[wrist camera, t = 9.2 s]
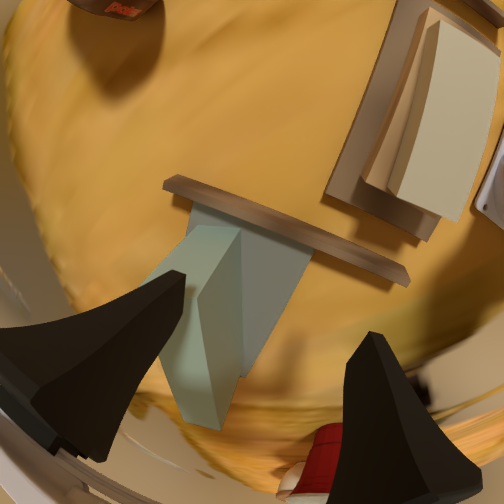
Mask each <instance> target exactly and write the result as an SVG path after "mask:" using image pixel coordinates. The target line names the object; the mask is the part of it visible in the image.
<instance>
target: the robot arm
mask: <svg viewBox="0 0 504 504" xmlns="http://www.w3.org/2000/svg"><path fill="white" fill-rule="evenodd" d="M474 205H475V208H476V209H477V210H479V211H480V212H481V213H483V214H484V215H485V216H487V217H488V218H489V219H490V220H492V221H493V222H494V223H495V224H497V225H498V226H499V227H500V228H501V229H503V230H504V130H503V133H502V136H501V139H500V141H499V144H498V147H497V150H496V152H495V155H494V158H493V160H492V163H491V165H490V168H489V170H488V172H487V175H486V177H485V179H484V182H483V184H482V186H481V188H480V190H479V193H478V195H477V197H476V199H475V202H474ZM484 205H485V208H484V209H483V206H484ZM185 285H186V274H184V273H181V272H179V271H176V270H173V269H172V270H170V271H168V272H166V273H164V274H162V275H160V276H159V277H157V278H155V279H153V280H151V281H150V282H148V283H146V284H144V285H142V286H140V287H139V288H137V289H135V290H133V291H131V292H129V293H127V294H125V295H123V296H121V297H119V298H117V299H115V300H113V301H111V302H108V303H106V304H104V305H102V306H99V307H97V308H94V309H91V310H89V311H86V312H83V313H80V314H77V315H74V316H70V317H67V318H63V319H60V320H57V321H52V322H47V323H43V324H37V325H31V326H24V327H13V328H0V384H1V385H0V485H1V486H2V487H3V489H4V490H5V491H6V492H7V493H8V495H9V496H10V497H11V498H12V499H13V500H14V501H15V502H16V504H111V503H109V502H108V501H106V500H104V499H102V498H100V497H98V496H96V495H94V494H92V493H90V492H89V487H88V485H89V486H90V487H92V488H94V489H96V490H97V491H99V492H100V493H102V494H104V495H106V496H108V497H109V498H111V499H113V500H115V501H117V502H119V503H121V504H162V503H159V502H157V501H154V500H152V499H149V498H147V497H145V496H143V495H141V494H138V493H136V492H134V491H132V490H130V489H128V488H126V487H124V486H122V485H120V484H119V483H117V482H115V481H113V480H111V479H109V478H107V477H106V476H104V475H102V474H101V473H99V472H97V471H96V470H94V469H92V468H91V467H89V466H87V465H86V464H84V463H83V462H81V461H80V460H78V459H77V456H78V455H79V456H81V457H82V458H84V459H87V458H88V457H89V458H90V459H92V460H93V461H95V462H97V463H101V462H105V461H106V460H107V457H108V454H109V451H110V448H111V446H112V443H113V440H114V438H115V435H116V433H117V431H118V428H119V426H120V423H121V421H122V419H123V416H124V414H125V412H126V410H127V408H128V406H129V404H130V402H131V400H132V398H133V396H134V394H135V392H136V390H137V388H138V386H139V384H140V382H141V380H142V379H143V377H144V375H145V374H146V372H147V371H148V369H149V368H150V366H151V365H152V363H153V362H154V361H155V359H156V358H157V356H158V355H159V353H160V352H161V350H162V349H163V347H164V346H165V344H166V343H167V341H168V340H169V338H170V337H171V335H172V334H173V332H174V330H175V328H176V326H177V324H178V322H179V320H180V318H181V316H182V314H183V307H184V295H185ZM482 489H483V484H482V472H481V469H480V468H479V467H477V466H476V465H475V464H474V463H473V462H472V461H470V460H469V459H468V458H467V457H466V456H465V455H464V454H463V453H462V452H461V451H460V450H459V449H458V448H457V447H456V446H455V445H454V444H453V443H452V442H451V441H450V440H449V439H448V438H447V436H446V435H445V434H444V433H443V431H442V430H441V429H440V428H439V427H438V425H437V424H436V423H435V421H434V420H433V419H432V417H431V416H430V414H429V413H428V411H427V410H426V408H425V407H424V405H423V404H422V402H421V401H420V399H419V398H418V396H417V394H416V393H415V391H414V389H413V388H412V386H411V384H410V382H409V381H408V379H407V377H406V375H405V373H404V371H403V370H402V368H401V366H400V364H399V362H398V360H397V359H396V357H395V355H394V353H393V351H392V349H391V348H390V346H389V344H388V342H387V341H386V339H385V337H384V336H383V334H379V333H375V332H372V331H369V332H368V334H367V335H366V337H365V338H364V339H363V341H362V342H361V344H360V345H359V347H358V348H357V350H356V351H355V352H354V354H353V355H352V357H351V358H350V359H349V361H348V362H347V363H346V370H345V378H344V386H343V429H342V442H341V448H340V454H339V459H338V464H337V468H336V472H335V476H334V480H333V483H332V487H331V490H330V493H329V496H328V499H327V502H326V504H456V503H459V502H461V501H463V500H465V499H468V498H470V497H472V496H474V495H476V494H477V493H479V492H480V491H481V490H482Z"/></svg>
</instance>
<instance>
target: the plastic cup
mask: <svg viewBox="0 0 504 504" xmlns="http://www.w3.org/2000/svg"><path fill="white" fill-rule="evenodd" d="M342 429H343V423H333V424H328V425H325V426H322V427H321V428H320V429H318V432H317V433H316V436H315V439H314V442H313V446H312V449H311V450H310V452H309V455H308V458H307V461H306V464H305V466H304V469H303V471H302V474H301V477H300V479H299V481H298V482H297V484H296V487H295V488H294V489H293V491H292V492H291V494H290V495H289V496H287V497H286V498H285V501H286V502H288V503H290V504H326V502H327V499H328V496H329V493H330V490H331V487H332V483H333V480H334V476H335V472H336V468H337V464H338V459H339V454H340V448H341V442H342Z"/></svg>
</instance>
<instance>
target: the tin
mask: <svg viewBox="0 0 504 504" xmlns="http://www.w3.org/2000/svg"><path fill="white" fill-rule="evenodd" d="M67 1H69V2H70V3H72V4H74V5H75V6H77V7H79V8H81V9H83V10H85V11H88V12H90V13H93V14H96V15H100V16H108V17H112V18H117V19H122V20H129V21H134V20H136V19H138V18H139V17H140V16H142V15H143V14H144V13H145V12H146V11H147V10H148V9H149V8H150V7H151V6H153V5H154V4H155V3H156V2H157V1H159V0H67Z"/></svg>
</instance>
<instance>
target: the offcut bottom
mask: <svg viewBox="0 0 504 504" xmlns="http://www.w3.org/2000/svg"><path fill="white" fill-rule="evenodd" d="M440 19H441V20H443V21H444V22H446V23H448V24H450V25H452V26H453V27H455V28H457V29H458V30H460V31H462V32H463V33H465V34H466V35H468V36H470V37H471V38H473V39H474V40H476V41H477V42H479V43H480V44H482V45H483V46H484V47H486V48H487V49H489V48H488V47H487V46H485V45H484V44H483V43H482V42H481V41H479V40H478V39H477V38H475V37H474V36H473V35H471V34H470V33H469V32H467V31H466V30H465V29H463V28H462V27H461V26H459V25H458V24H456V23H455V22H453V21H452V20H450V19H449V18H447V17H446V16H444V15H443V14H441V13H439V12H438V11H436V10H435V9H433V8H431V7H429V8H428V9H426V10H425V11H424V12H423V13H422V14H421V15H419V18H418V21H417V25H416V28H415V31H414V35H413V38H412V41H411V44H410V47H409V50H408V53H407V56H406V59H405V62H404V65H403V68H402V71H401V74H400V77H399V80H398V82H397V85H396V88H395V90H394V93H393V96H392V98H391V101H390V104H389V106H388V109H387V111H386V114H385V117H384V119H383V122H382V124H381V127H380V129H379V131H378V134H377V136H376V139H375V141H374V144H373V146H372V148H371V151H370V153H369V155H368V158H367V160H366V162H365V164H364V167H363V169H362V171H361V173H360V175H361V177H362V178H363V179H364V181H365V182H366V183H368V184H370V185H373V186H375V187H377V188H379V189H381V190H383V191H384V192H386V193H388V194H390V195H392V196H394V197H396V196H395V195H394V194H393V193H392V191H391V190H390V189H389V188H388V187H387V185H388V183H389V180H390V177H391V174H392V171H393V168H394V165H395V162H396V159H397V156H398V152H399V149H400V146H401V143H402V139H403V136H404V133H405V129H406V126H407V122H408V118H409V115H410V111H411V107H412V103H413V99H414V95H415V91H416V86H417V82H418V77H419V73H420V68H421V63H422V57H423V52H424V46H425V40H426V33H427V28H429V27H430V26H431V25H433V24H434V23H436V22H437V21H439V20H440ZM489 50H490V49H489ZM490 51H491V50H490ZM491 52H493V51H491ZM493 53H494V52H493ZM494 54H495V53H494ZM495 55H496V54H495ZM396 198H398V197H396ZM398 199H400V198H398ZM400 200H402V201H404V202H405V203H407V204H409V205H411V206H413V207H414V208H416V209H418V210H420V211H422V212H423V213H425V214H427V215H428V216H430V217H432V218H434V219H436V218H437V216H438V214H436V213H433V212H431V211H429V210H427V209H424V208H422V207H420V206H417V205H415V204H413V203H410V202H408V201H405V200H403V199H400Z"/></svg>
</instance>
